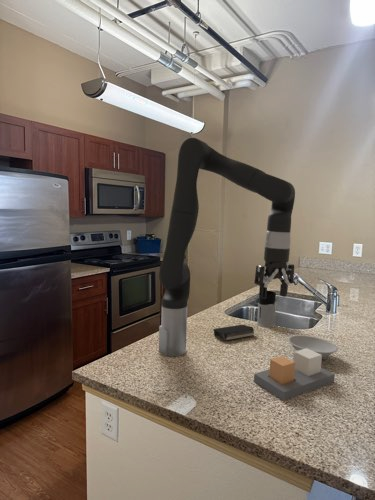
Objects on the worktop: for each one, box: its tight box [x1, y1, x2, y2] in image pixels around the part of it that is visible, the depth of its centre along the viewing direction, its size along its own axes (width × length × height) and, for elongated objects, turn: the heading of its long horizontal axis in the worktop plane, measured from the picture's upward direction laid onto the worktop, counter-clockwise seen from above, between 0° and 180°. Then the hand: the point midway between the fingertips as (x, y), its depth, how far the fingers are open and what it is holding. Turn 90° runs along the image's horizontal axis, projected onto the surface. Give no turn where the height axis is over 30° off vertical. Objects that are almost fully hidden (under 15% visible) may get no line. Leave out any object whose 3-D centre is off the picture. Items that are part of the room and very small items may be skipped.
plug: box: [269, 355, 295, 385], centre depth 101 cm, size 5×5×8 cm
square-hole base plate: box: [253, 348, 336, 401], centre depth 104 cm, size 22×12×8 cm, turn 121°
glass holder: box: [245, 290, 277, 328], centre depth 156 cm, size 9×14×15 cm, turn 95°
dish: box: [287, 334, 339, 358], centre depth 123 cm, size 18×14×5 cm
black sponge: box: [213, 324, 255, 341], centre depth 142 cm, size 16×8×4 cm, turn 118°
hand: (273, 297), depth 107 cm, fingers open, 8 cm apart
